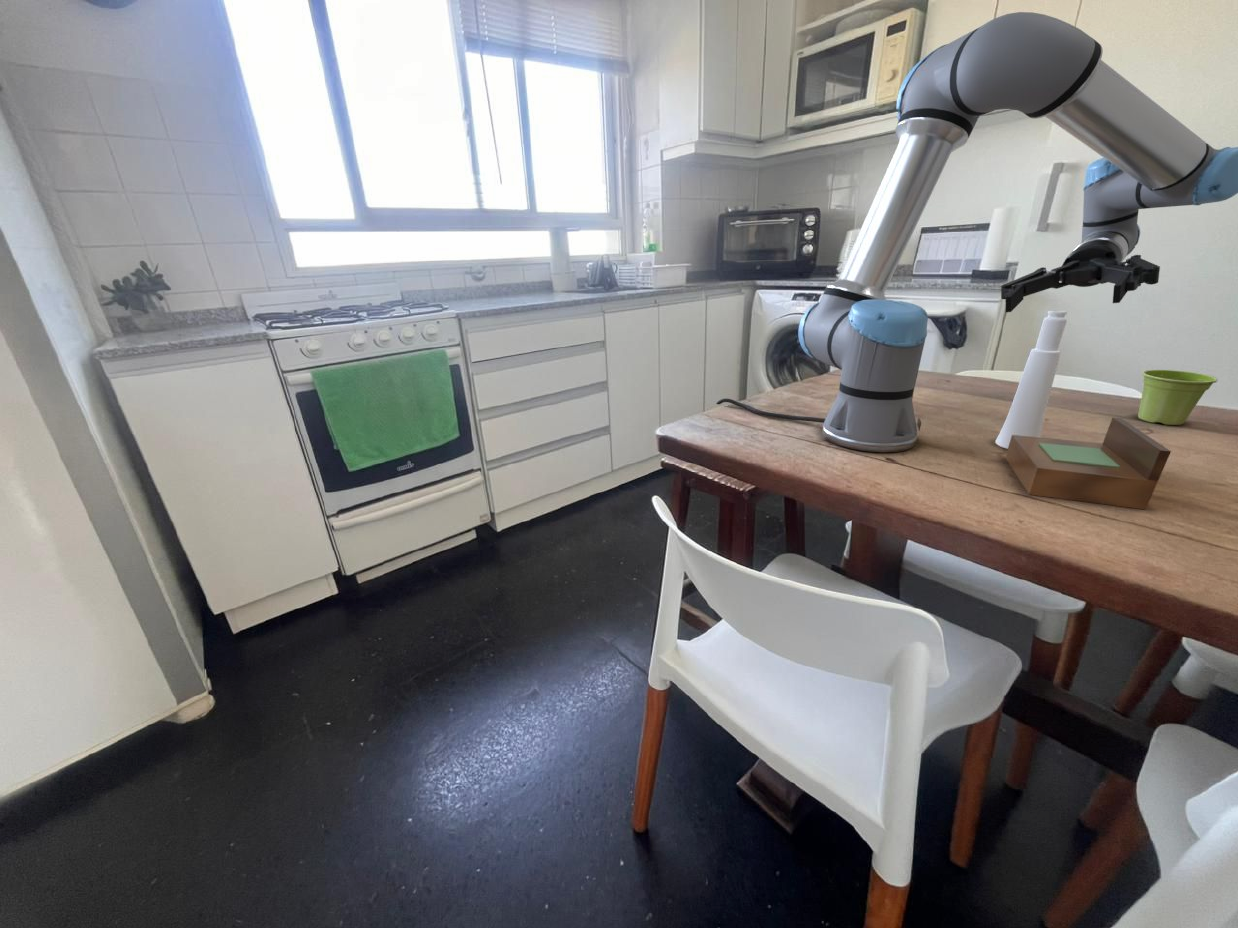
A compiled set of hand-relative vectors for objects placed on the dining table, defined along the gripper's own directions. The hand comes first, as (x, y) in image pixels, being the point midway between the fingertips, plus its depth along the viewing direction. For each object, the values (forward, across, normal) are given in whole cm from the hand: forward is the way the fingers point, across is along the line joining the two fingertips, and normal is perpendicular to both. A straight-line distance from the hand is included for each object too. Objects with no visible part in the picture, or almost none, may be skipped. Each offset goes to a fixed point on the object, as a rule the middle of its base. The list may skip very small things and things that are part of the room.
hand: (1058, 300), depth 81 cm
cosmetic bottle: (+14, +2, -20) cm, 25 cm away
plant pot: (-18, -11, -31) cm, 37 cm away
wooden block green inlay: (+25, -7, -18) cm, 32 cm away
